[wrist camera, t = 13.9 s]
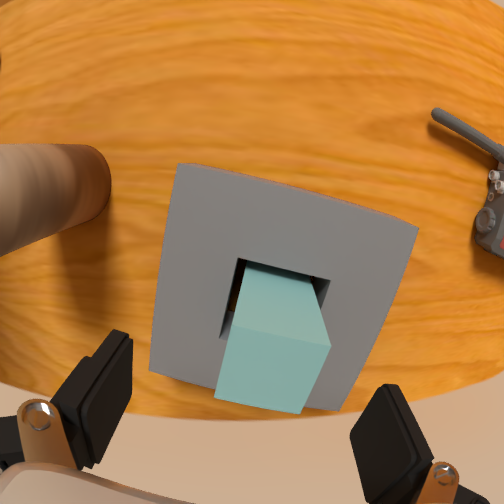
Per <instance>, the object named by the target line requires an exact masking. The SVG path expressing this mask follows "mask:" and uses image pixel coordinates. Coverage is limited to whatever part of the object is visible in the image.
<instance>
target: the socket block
mask: <svg viewBox="0 0 504 504" xmlns="http://www.w3.org/2000/svg"><path fill="white" fill-rule="evenodd" d="M418 230H419V228H418V227H416V226H414V225H412V224H410V223H407V222H405V221H403V220H401V219H399V218H397V217H395V216H392V215H389V214H385V213H382V212H379V211H376V210H373V209H370V208H367V207H363V206H360V205H357V204H354V203H350V202H347V201H344V200H340V199H337V198H333V197H330V196H326V195H323V194H319V193H316V192H312V191H309V190H305V189H301V188H297V187H294V186H290V185H286V184H282V183H278V182H274V181H270V180H266V179H262V178H258V177H254V176H250V175H246V174H241V173H237V172H233V171H228V170H224V169H219V168H215V167H210V166H205V165H200V164H195V163H178V166H177V170H176V175H175V180H174V185H173V190H172V195H171V201H170V206H169V211H168V217H167V223H166V229H165V235H164V241H163V247H162V254H161V261H160V268H159V275H158V283H157V291H156V299H155V308H154V317H153V327H152V337H151V349H150V362H149V371H152V372H155V373H158V374H161V375H165V376H168V377H171V378H175V379H178V380H181V381H185V382H188V383H192V384H196V385H200V386H203V387H207V388H211V389H215V390H216V387H217V383H218V378H219V374H220V370H221V366H222V362H223V358H224V354H225V350H226V346H227V342H228V337H229V333H230V329H231V325H232V321H233V317H234V313H235V312H232V311H228V310H227V309H228V305H229V300H230V296H231V292H232V288H233V283H234V279H235V275H236V271H237V266H238V262H239V258H242V259H246V260H250V261H254V262H258V263H262V264H266V265H270V266H274V267H278V268H283V269H287V270H291V271H295V272H299V273H303V274H307V275H311V276H315V279H314V282H313V285H312V286H313V289H314V292H315V295H316V299H317V302H318V305H319V308H320V311H321V314H322V318H323V321H324V324H325V327H326V330H327V334H328V337H329V340H330V344H331V348H330V350H329V353H328V355H327V357H326V359H325V362H324V364H323V366H322V368H321V371H320V373H319V375H318V377H317V379H316V382H315V384H314V386H313V388H312V390H311V392H310V394H309V396H308V398H307V401H306V403H305V405H304V407H308V408H315V409H323V410H332V411H339V410H340V409H341V407H342V405H343V403H344V402H345V400H346V398H347V396H348V394H349V393H350V391H351V389H352V387H353V385H354V383H355V381H356V380H357V378H358V376H359V374H360V372H361V370H362V368H363V366H364V364H365V362H366V360H367V358H368V356H369V354H370V352H371V350H372V348H373V345H374V343H375V341H376V339H377V337H378V335H379V332H380V330H381V328H382V326H383V323H384V321H385V319H386V317H387V314H388V312H389V309H390V307H391V305H392V302H393V300H394V297H395V295H396V292H397V290H398V287H399V285H400V282H401V279H402V277H403V274H404V271H405V269H406V266H407V263H408V260H409V257H410V254H411V252H412V249H413V246H414V243H415V239H416V236H417V233H418Z"/></svg>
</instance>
